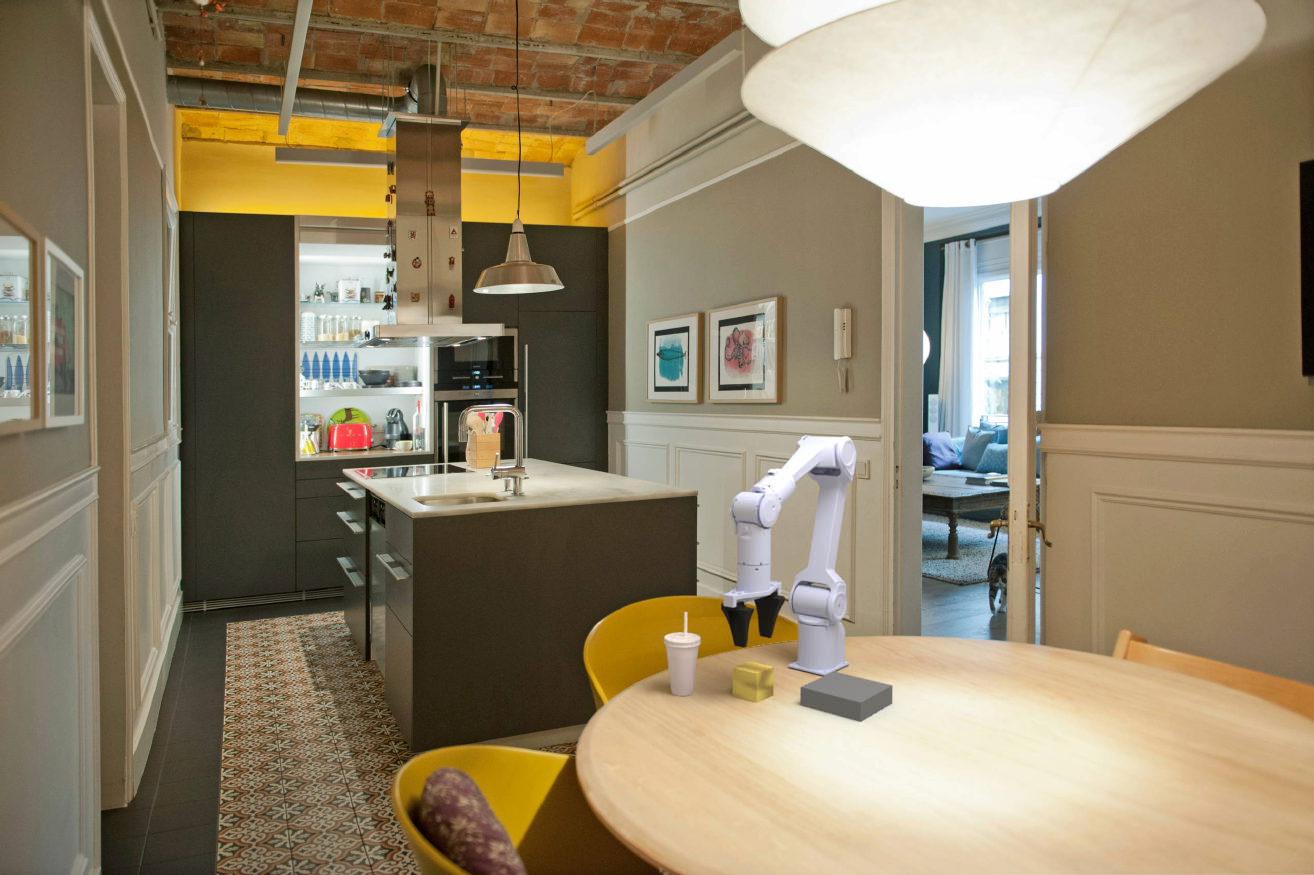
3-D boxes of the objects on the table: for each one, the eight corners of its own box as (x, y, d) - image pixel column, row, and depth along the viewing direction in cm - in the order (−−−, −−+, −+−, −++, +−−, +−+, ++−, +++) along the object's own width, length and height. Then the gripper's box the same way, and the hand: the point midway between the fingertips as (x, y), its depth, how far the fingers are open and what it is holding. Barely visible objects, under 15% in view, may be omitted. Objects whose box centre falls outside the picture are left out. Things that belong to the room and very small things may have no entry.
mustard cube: (749, 689, 147) (749, 661, 147) (773, 695, 144) (773, 667, 143) (732, 696, 143) (732, 667, 143) (756, 703, 140) (757, 673, 140)
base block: (833, 691, 147) (833, 671, 147) (892, 706, 140) (892, 685, 140) (800, 707, 139) (800, 687, 139) (860, 724, 132) (860, 702, 131)
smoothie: (701, 699, 141) (701, 617, 141) (663, 698, 142) (663, 616, 141) (700, 686, 148) (700, 608, 147) (663, 686, 148) (664, 607, 147)
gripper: (758, 554, 151) (758, 628, 151) (709, 565, 140) (708, 646, 140) (792, 558, 146) (791, 636, 146) (743, 571, 135) (743, 654, 135)
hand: (753, 641), depth 143 cm, fingers open, 7 cm apart
